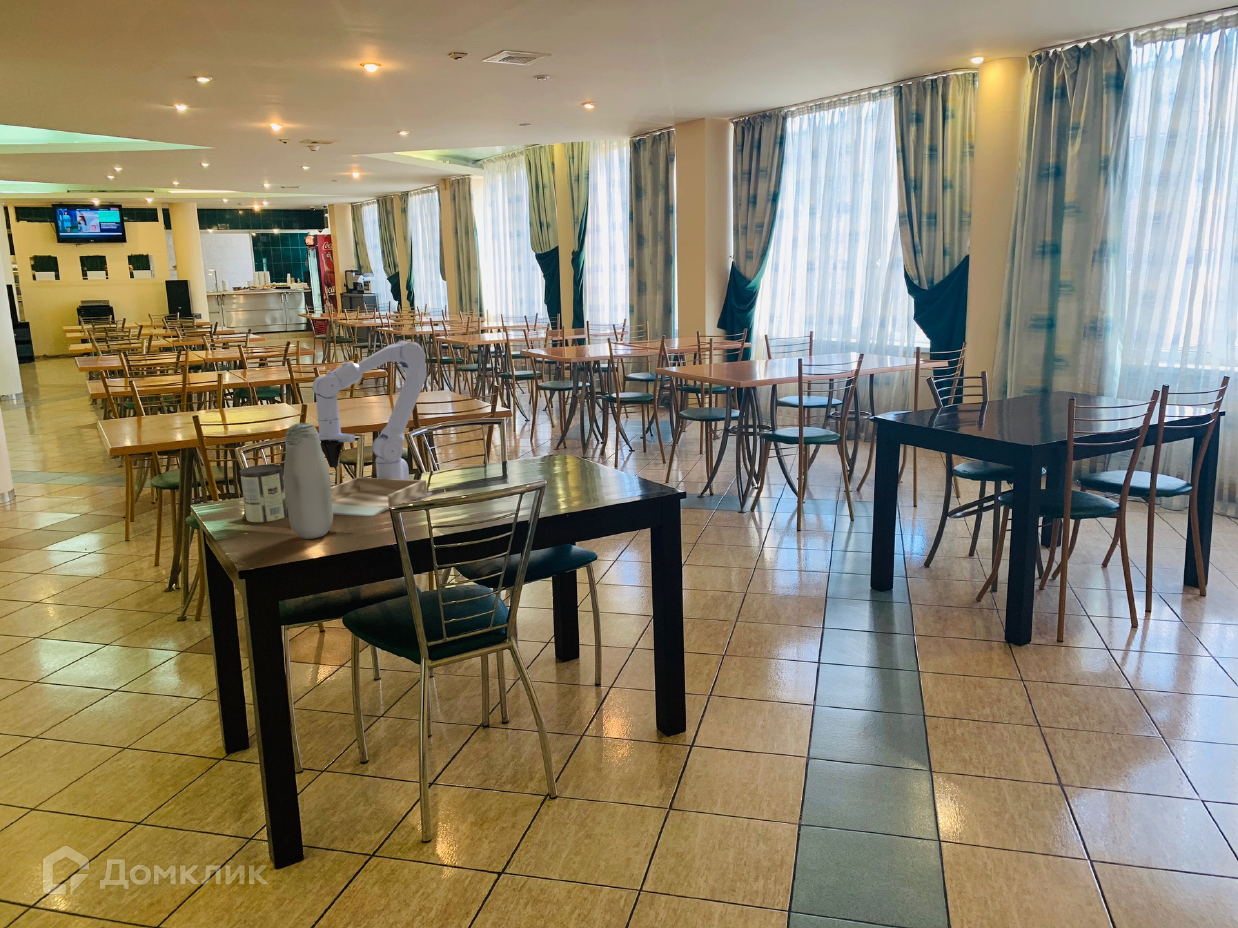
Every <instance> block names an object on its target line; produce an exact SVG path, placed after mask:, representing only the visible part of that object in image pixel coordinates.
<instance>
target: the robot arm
mask: <svg viewBox="0 0 1238 928" xmlns="http://www.w3.org/2000/svg"><path fill="white" fill-rule="evenodd" d="M426 357H427V356H426V353H425V351H424V349H423V348H422V346H421V344H420V343H418V342H415V341H406V340H403V339H402V340H398V341H397V342H395V343H391V344H389V345H387V346H385V347H383V348H381V349H379V350H378V351H376V352H375V353H373V354H371V355H369V356H368V357H366V358H363V359H362V360H361V361H359V362H356V363H355V362H353V361H349V362H346V361H343V362H342V363H341V366H340V367H337V368H336V369H333V370H332V371H331V370H327V371H326V375H319V376H317V377H316V378H315V379H314V381H313V383H312V386H311V388H312V392H314V394H315V399H316V403H315V404H316V414H317V421H318V422H317V423H318V435H319V440H320V444H321V448H322V452H323V455H324V457H325V460H326V462H327V465H328V468H336V467H338V466H339V461H340V460H339V459H340V455H341V452H342V449H343V447H344V445H345V443H349V444H350V443H354V442H356V437H355V434H349V433H342V429H341V420H340V410H339V401H338V393H339V392H340V391H342V390H345V389H346V388H348V387H350V386H352V385H353V384H355V383H357V382H359V381H361V379H362V377H363V374H364V373H367V372H369V371H371V370H373V369H375V368H378V367H380V366H382V365H384V364H385V363H388V362H390V363H391V362H393V363H394V362H397V363H398V364H399V365H401V367H402V368H403V371H404V372H405V374H406V377H405V380H404V382H403V385H402V388H401V389H400V393H399V394H398V398H397V399H396V403H395V405H394V406H393V409H392V412H391V414H390V417H389V419H388V422H387V424H386V425H385V427H384V428H382V430H381V432H380V433H379V435H378V437H377V438H375V439H374V440H373V442H372V447H371V449H372V452H373V454H374V455H375V456H376V458H375V469H376V478H386V479H406V480H410V474H409V473H410V472H409V465H408V462H407V461H406V460H405V459H404V458H402V455H403V452H404V451H403V445H404V442H405V431H406V427H407V425H408V423H409V420H410V418H411V416H412V413H413V410H414V409H415V406H416V403H417V401H418V399H419V396H420V394H421V392H422V390H423V387H424V384H425V382H426V379H427V367H426Z"/></svg>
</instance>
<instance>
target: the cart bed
mask: <svg viewBox="0 0 1238 928" xmlns="http://www.w3.org/2000/svg"><path fill="white" fill-rule="evenodd" d="M427 488H428V487H427V480H426V479H425V480H423V479H422V480H421V479H409V480H406V479H386V478H377V477H363V476H358V477H354V478H352V479H349V480H347V481H344V482H342V483H339V484H336V485H333V486H331V496H332V504H335V505H351V506H368V507H384V508H386V510H390V509H389V507H391V506H394V505H399V504H402V503H406V504H407V503H411V502H412V501H414V500H416V499H419V498H421V497H423V496H426V495H427V494H428V489H427Z"/></svg>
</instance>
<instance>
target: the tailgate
mask: <svg viewBox="0 0 1238 928" xmlns="http://www.w3.org/2000/svg"><path fill="white" fill-rule="evenodd" d="M332 507H333V516H334V515H335V516H337V515H338V516H347V517H351V516H352V517H365V518H371V517H373V516H376V515H378V514H380V513H382V512H385V511H387V509H386V508H384V507H368V506H351V505H335V504H332Z"/></svg>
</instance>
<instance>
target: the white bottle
mask: <svg viewBox="0 0 1238 928" xmlns="http://www.w3.org/2000/svg"><path fill="white" fill-rule="evenodd" d="M318 433H319V431H318V430H317V428H316V427H315V426H314V425H313V424H311V423H307V422H299V423H294V424H292V425H290V426H289V428H288V429H286V432H285V435H284V437H285V438H284V439H285V440H284V441H285V455H284V463H283V464H284V465H283V481H284V490H285V498H286V506H287V514H288V515H287V517H288V521H289V525H290V527H291V529H292V530H293V533H295V535H297V537H300V538H302V539H306V540H311V539H319V538H321V537H324V536H325V535H327V533H328V532H329V531H330V530H331V528H332V525H333V520H334V515H333V507H332V496H331V487H332V485H331V484H332V483H331V475H330V469H329V464H328V461H327V459H326V457H325V455H324V453H323V451H322V448H321V444H320V443H321V441H320V440H319V435H318Z"/></svg>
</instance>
